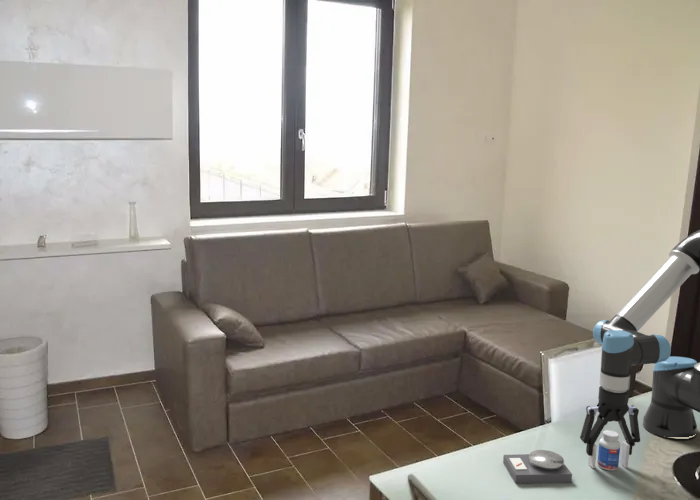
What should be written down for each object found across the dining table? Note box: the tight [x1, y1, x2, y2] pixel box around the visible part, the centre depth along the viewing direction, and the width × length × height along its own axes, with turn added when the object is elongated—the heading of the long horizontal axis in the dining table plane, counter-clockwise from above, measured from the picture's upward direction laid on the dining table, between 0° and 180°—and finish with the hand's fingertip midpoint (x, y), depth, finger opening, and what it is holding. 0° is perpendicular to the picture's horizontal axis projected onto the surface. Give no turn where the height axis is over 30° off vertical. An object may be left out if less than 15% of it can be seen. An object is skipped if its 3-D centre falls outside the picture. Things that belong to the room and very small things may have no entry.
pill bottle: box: [597, 429, 621, 472], centre depth 175 cm, size 6×5×10 cm
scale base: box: [502, 453, 573, 484], centre depth 172 cm, size 15×11×3 cm
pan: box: [529, 449, 565, 470], centre depth 171 cm, size 9×9×1 cm
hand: (607, 465), depth 175 cm, fingers open, 8 cm apart
